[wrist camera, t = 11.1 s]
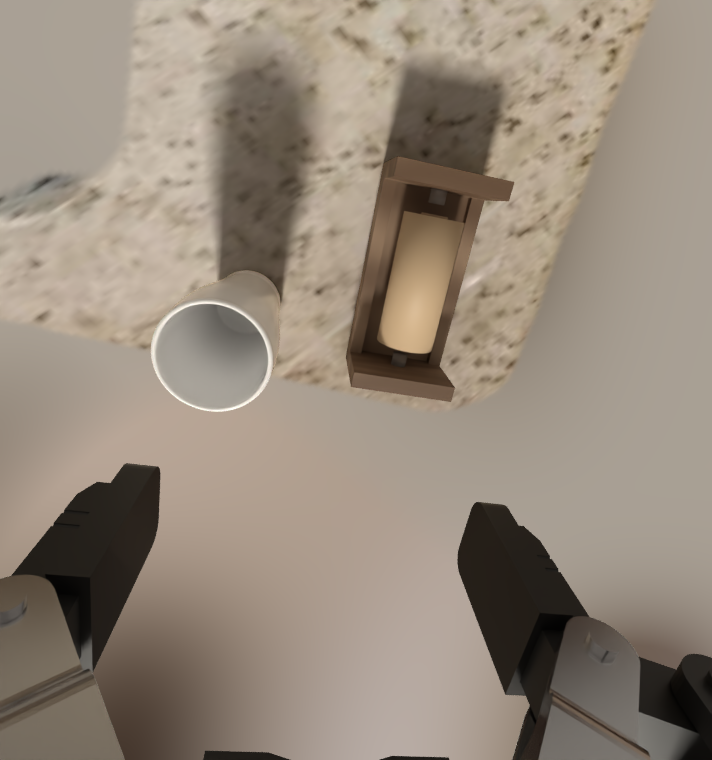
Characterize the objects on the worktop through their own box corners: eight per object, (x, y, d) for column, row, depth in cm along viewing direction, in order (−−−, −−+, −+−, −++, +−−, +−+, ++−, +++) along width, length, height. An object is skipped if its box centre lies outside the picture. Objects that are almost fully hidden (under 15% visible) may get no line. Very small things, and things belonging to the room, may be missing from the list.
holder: (383, 163, 36) (397, 156, 30) (480, 184, 37) (514, 182, 31) (346, 357, 42) (351, 386, 36) (430, 370, 43) (450, 401, 37)
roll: (399, 207, 36) (411, 210, 32) (454, 219, 37) (474, 222, 33) (372, 333, 40) (381, 350, 36) (423, 341, 41) (437, 358, 37)
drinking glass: (191, 297, 39) (121, 353, 25) (249, 242, 38) (209, 270, 24) (249, 354, 41) (214, 435, 27) (306, 304, 40) (299, 363, 26)
